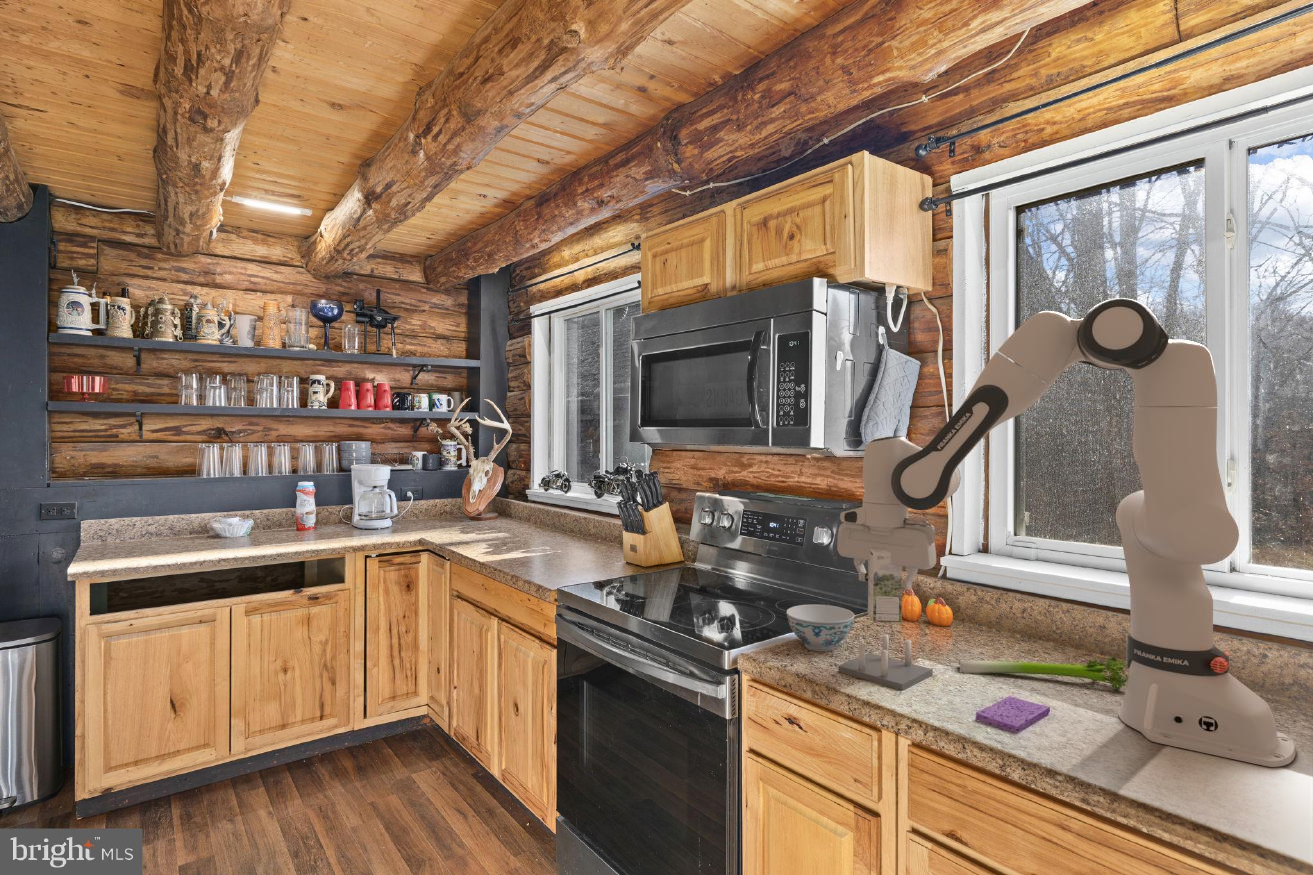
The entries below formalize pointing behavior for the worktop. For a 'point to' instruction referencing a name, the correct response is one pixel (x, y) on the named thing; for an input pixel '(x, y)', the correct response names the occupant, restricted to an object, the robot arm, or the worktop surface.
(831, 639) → the chinaware
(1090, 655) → the worktop surface
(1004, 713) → the sponges
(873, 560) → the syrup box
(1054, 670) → the leek
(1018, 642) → the worktop surface
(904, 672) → the pin tray
